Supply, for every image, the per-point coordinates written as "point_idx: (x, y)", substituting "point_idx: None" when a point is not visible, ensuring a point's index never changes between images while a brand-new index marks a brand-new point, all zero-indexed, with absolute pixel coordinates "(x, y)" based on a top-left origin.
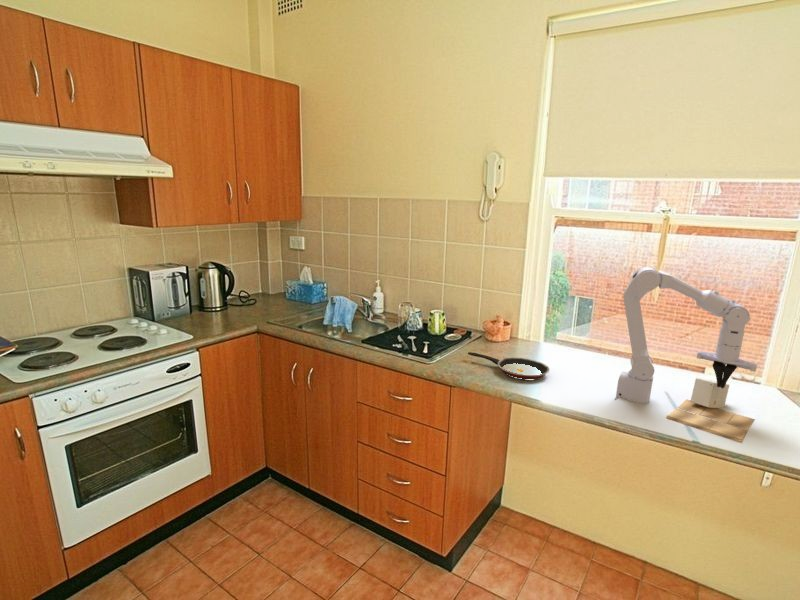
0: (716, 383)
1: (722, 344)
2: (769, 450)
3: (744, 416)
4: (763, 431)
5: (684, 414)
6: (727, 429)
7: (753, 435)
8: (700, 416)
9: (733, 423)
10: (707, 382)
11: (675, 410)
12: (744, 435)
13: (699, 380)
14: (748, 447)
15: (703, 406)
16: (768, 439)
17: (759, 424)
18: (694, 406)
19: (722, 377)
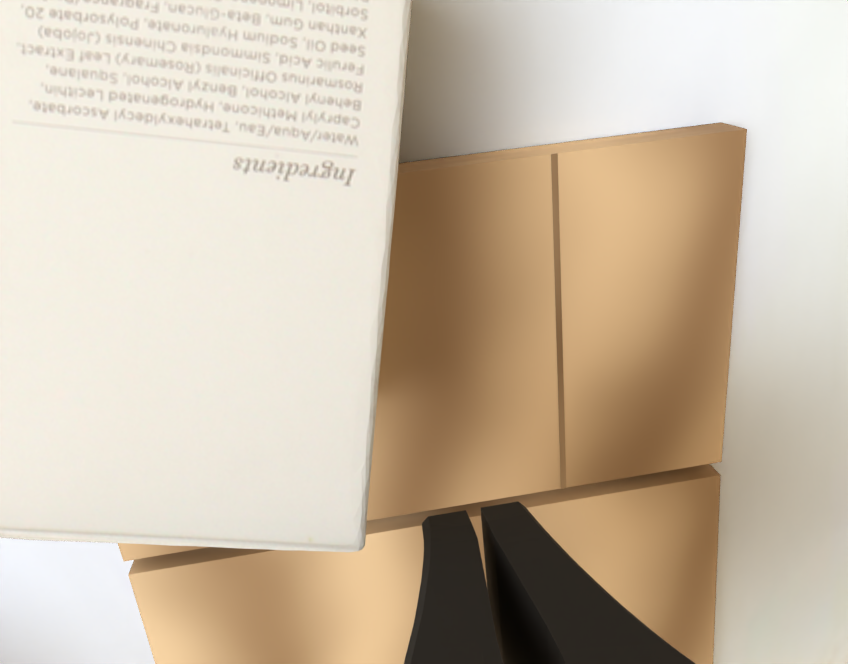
0: (369, 486)
1: None
2: (842, 561)
3: (649, 149)
4: (801, 254)
5: (256, 649)
6: None
7: (740, 418)
8: (356, 556)
9: (603, 441)
10: (231, 541)
11: (158, 636)
12: (714, 605)
13: (72, 528)
14: (731, 633)
15: None
16: (837, 388)
17: (763, 98)
18: None
19: (491, 620)
